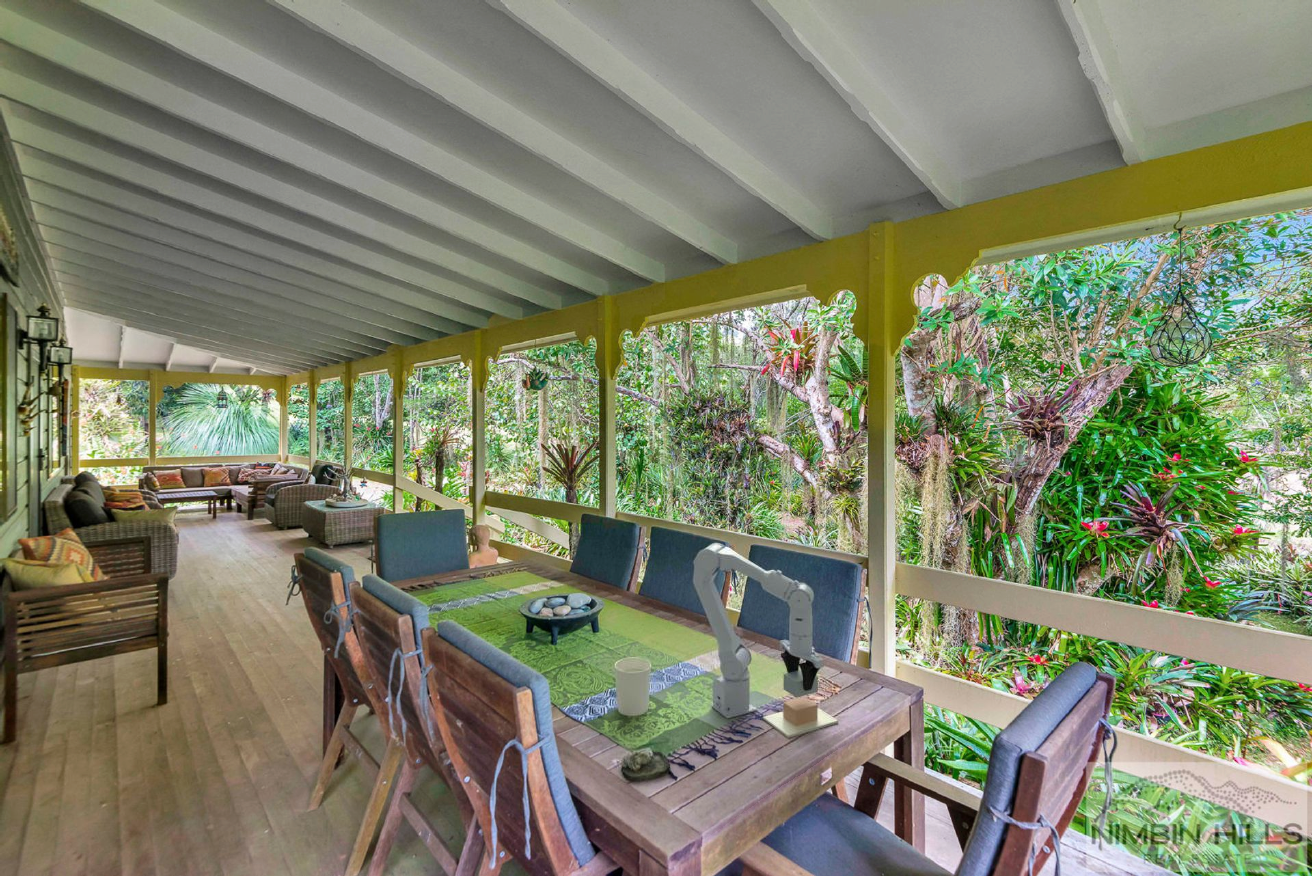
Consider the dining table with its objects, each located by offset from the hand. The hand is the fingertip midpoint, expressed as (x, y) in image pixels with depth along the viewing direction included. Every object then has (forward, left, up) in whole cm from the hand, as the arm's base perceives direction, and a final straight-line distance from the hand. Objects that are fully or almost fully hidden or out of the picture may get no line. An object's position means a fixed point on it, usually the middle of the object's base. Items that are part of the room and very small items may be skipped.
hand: (800, 685), depth 149 cm
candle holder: (-36, +25, -10) cm, 45 cm away
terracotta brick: (0, 0, -9) cm, 9 cm away
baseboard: (0, 0, -9) cm, 9 cm away
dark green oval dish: (-44, 0, -10) cm, 45 cm away
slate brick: (0, 0, -1) cm, 1 cm away
